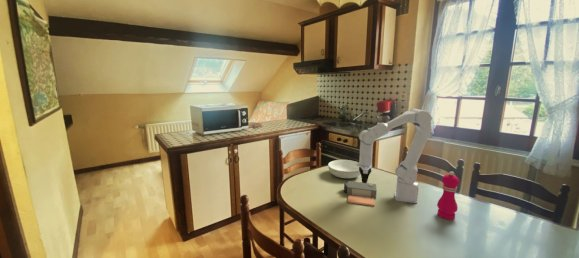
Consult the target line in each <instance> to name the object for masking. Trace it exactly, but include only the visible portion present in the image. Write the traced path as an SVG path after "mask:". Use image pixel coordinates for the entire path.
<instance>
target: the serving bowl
mask: <svg viewBox="0 0 579 258" xmlns="http://www.w3.org/2000/svg"><path fill="white" fill-rule="evenodd" d="M357 163H359V162H358V161H354V160H351V159H349V160H348V159H336V160H332V161H330V162H328V164H327V166H328V170H329V172H330V173H331V174H332V175H333V176H334V177H338V178H340V179H354V178H358V177H359V176H361V174H360V171H359V167H360V166H357Z"/></svg>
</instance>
